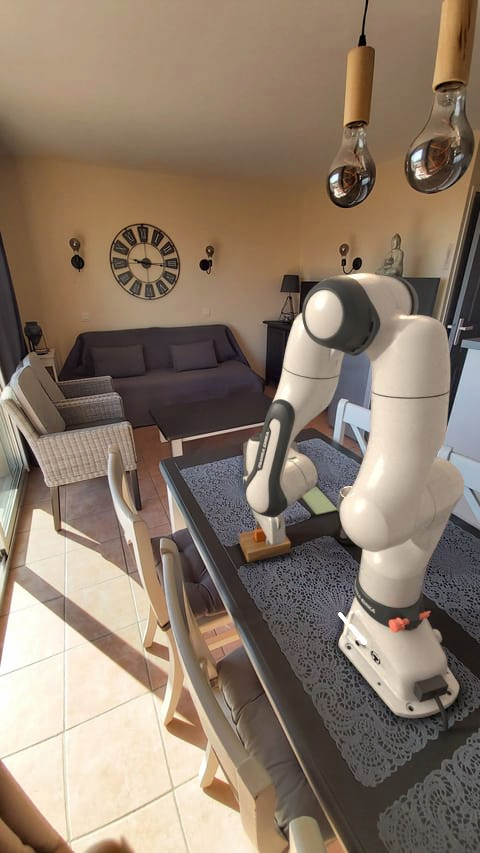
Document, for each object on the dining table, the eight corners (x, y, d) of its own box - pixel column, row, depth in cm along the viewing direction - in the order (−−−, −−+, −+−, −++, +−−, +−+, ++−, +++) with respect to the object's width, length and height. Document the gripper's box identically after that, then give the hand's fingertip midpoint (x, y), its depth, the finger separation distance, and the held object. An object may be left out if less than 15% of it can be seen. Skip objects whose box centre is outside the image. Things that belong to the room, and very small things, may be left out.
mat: (337, 510, 114) (337, 509, 114) (278, 523, 109) (278, 522, 109) (308, 478, 132) (308, 477, 131) (256, 489, 126) (256, 488, 126)
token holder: (290, 554, 97) (290, 542, 95) (248, 565, 94) (247, 553, 92) (279, 535, 104) (279, 524, 102) (239, 545, 101) (238, 533, 99)
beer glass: (329, 535, 104) (333, 490, 98) (347, 526, 107) (351, 483, 101) (347, 549, 98) (352, 503, 92) (365, 540, 101) (371, 495, 95)
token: (273, 546, 99) (273, 528, 96) (256, 550, 97) (256, 532, 95) (272, 543, 100) (272, 525, 97) (255, 547, 98) (254, 529, 96)
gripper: (292, 513, 83) (291, 559, 89) (262, 470, 101) (262, 511, 107) (267, 518, 81) (267, 565, 87) (240, 474, 99) (242, 515, 105)
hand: (264, 535), depth 97 cm, fingers open, 6 cm apart
